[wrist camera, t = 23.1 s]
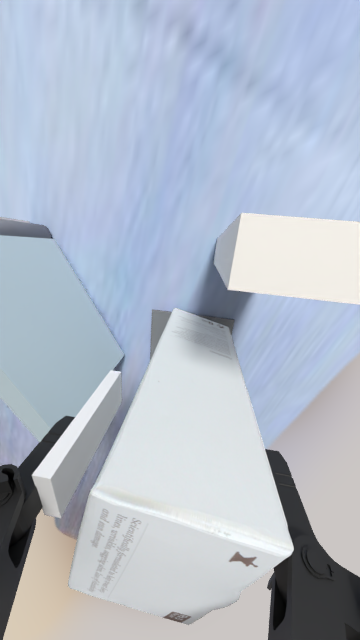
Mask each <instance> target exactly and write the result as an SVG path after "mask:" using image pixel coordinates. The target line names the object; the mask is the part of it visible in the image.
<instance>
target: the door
mask: <svg viewBox="0 0 360 640" xmlns="http://www.w3.org/2000/svg"><path fill="white" fill-rule="evenodd" d="M123 356H124V353H123V351H122V350H121V348H120V346H119V345H118V343H117V341H116V340H115V338H114V337H113V335H112V333H111V332H110V330H109V328H108V327H107V325H106V323H105V322H104V320H103V318H102V317H101V315H100V313H99V312H98V310H97V309H96V307H95V305H94V304H93V302H92V300H91V299H90V297H89V295H88V294H87V292H86V290H85V289H84V287H83V285H82V284H81V282H80V281H79V279H78V277H77V276H76V274H75V272H74V271H73V269H72V267H71V266H70V264H69V262H68V261H67V259H66V257H65V256H64V254H63V252H62V251H61V249H60V248H59V246H58V244H57V243H56V241H55V239H51V234H50V231H49V229H48V228H47V227H46V226H44V225H39V224H32V223H25V222H19V221H12V220H5V219H0V398H1V399H2V400H3V401H4V403H5V404H6V405H7V406H8V407H9V408H10V409H11V411H12V412H13V413H14V414H15V415H16V416H17V417H18V419H19V420H20V421H21V422H22V423H23V424H24V425H25V427H26V428H27V429H28V430H29V431H30V432H31V433H32V435H33V436H34V437H35V438H36V439H37V440H38V441H39V442H41V441H42V439H43V438H44V436H45V435H46V434H48V432H49V430H50V429H51V428H52V427H53V426H54V424H55V423H56V422H58V421H59V420H60V419H62V418H63V417H65V416H72V417H76V416H77V414H78V413H79V412H80V410H81V409H82V408H83V406H84V405H85V404H86V402H87V401H88V400H89V398H90V397H91V396H92V394H93V393H94V392H95V390H96V389H97V388H98V386H99V385H100V384H101V382H102V381H103V380H104V378H105V377H106V376H107V374H108V373H109V372H110V370H113V369H114V368H115V367H116V366H117V364H118V363H119V362H120V360H121V359H122V358H123Z"/></svg>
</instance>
